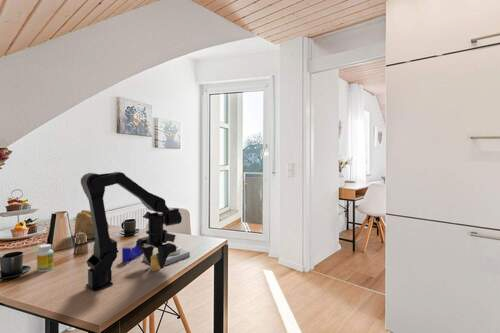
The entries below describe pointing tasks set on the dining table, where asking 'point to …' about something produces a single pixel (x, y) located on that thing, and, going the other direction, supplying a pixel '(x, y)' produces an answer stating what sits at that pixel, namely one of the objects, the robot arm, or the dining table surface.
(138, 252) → the cable clip
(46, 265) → the supplement bottle
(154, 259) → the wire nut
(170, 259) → the plate
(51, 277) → the dining table surface
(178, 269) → the dining table surface
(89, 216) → the rough brown rock
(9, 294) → the dining table surface
